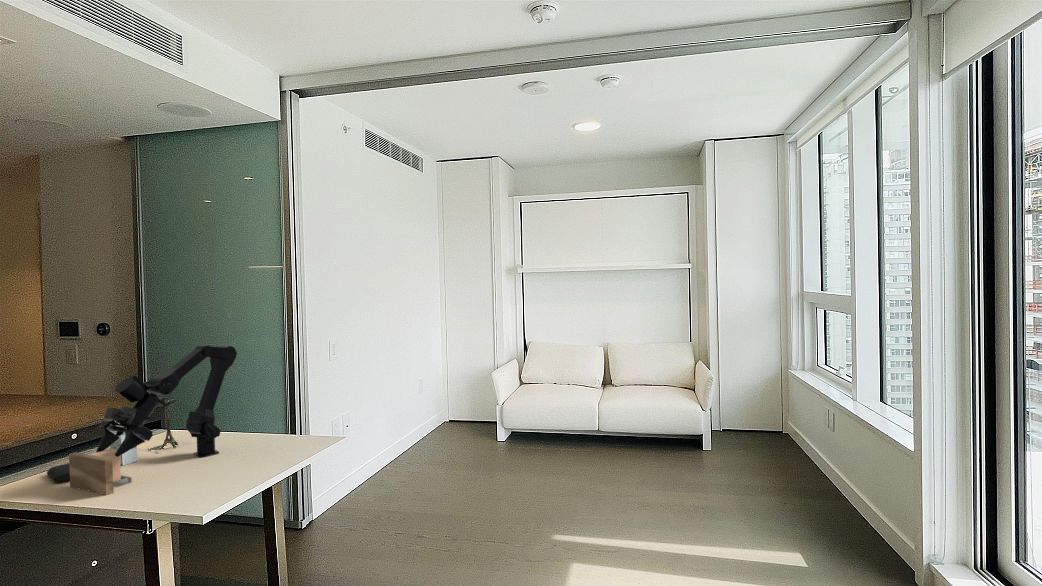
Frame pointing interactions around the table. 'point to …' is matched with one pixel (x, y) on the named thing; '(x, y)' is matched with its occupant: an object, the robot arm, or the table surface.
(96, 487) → the cleat board
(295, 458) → the table surface
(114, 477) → the pinkish tan block
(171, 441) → the eiffel tower figurine
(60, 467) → the carrying case or bag
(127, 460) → the syrup box
